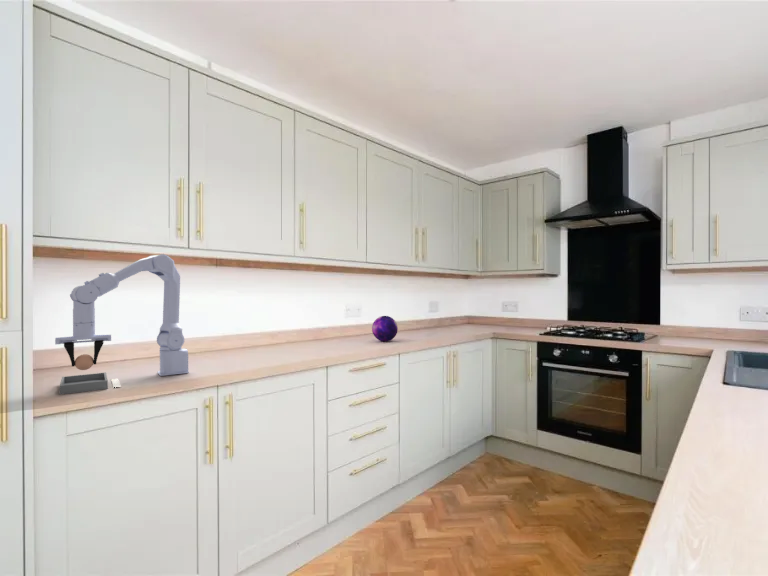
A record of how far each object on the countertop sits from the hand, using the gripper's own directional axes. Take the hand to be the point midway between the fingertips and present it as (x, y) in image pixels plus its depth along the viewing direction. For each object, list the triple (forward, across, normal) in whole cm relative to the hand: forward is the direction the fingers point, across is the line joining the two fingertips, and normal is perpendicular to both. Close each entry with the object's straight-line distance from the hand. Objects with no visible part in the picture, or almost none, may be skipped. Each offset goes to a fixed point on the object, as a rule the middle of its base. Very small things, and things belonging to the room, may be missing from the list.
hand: (84, 364), depth 134 cm
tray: (+7, 0, 0) cm, 7 cm away
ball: (-1, 0, 0) cm, 1 cm away
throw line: (+7, -8, 0) cm, 11 cm away
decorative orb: (+7, -143, -34) cm, 147 cm away
